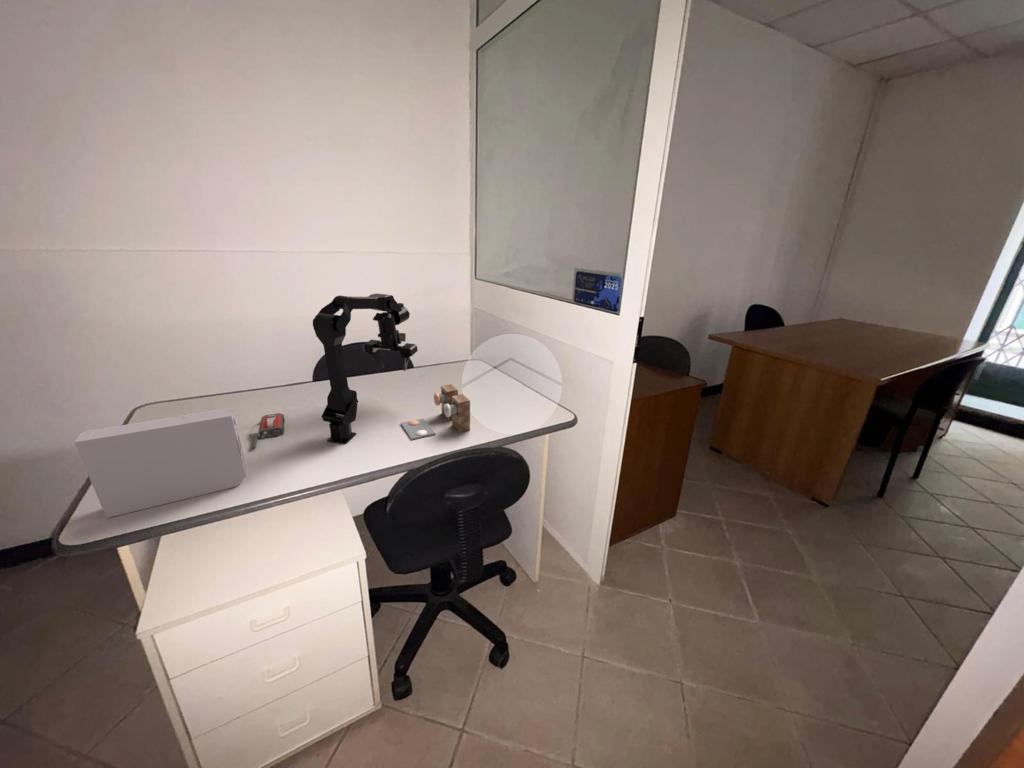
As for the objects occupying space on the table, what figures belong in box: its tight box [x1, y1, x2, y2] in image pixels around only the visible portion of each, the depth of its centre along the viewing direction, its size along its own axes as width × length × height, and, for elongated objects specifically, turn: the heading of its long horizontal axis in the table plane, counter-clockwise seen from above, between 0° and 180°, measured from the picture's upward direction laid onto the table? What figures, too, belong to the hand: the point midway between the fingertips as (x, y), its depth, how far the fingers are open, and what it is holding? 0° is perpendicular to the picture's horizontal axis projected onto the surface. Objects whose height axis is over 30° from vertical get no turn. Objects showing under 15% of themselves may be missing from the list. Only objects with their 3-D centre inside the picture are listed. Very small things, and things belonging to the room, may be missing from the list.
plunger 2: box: [444, 404, 458, 417], centre depth 133 cm, size 7×4×4 cm, turn 121°
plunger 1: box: [433, 392, 446, 406], centre depth 141 cm, size 7×4×4 cm, turn 121°
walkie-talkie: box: [250, 412, 285, 450], centre depth 127 cm, size 9×4×20 cm
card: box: [400, 418, 436, 441], centre depth 134 cm, size 8×12×1 cm, turn 31°
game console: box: [74, 406, 247, 519], centre depth 95 cm, size 6×27×20 cm, turn 122°
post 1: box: [440, 383, 459, 421], centre depth 143 cm, size 4×6×11 cm, turn 31°
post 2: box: [451, 393, 471, 433], centre depth 135 cm, size 4×6×11 cm, turn 31°
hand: (393, 369), depth 147 cm, fingers open, 9 cm apart
